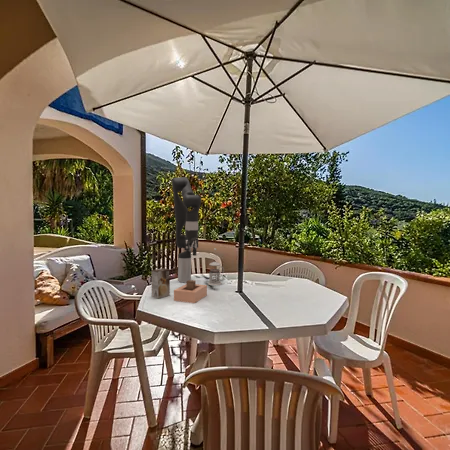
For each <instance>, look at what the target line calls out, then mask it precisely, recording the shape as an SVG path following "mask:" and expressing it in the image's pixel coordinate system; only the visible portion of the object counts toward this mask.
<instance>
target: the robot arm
mask: <svg viewBox="0 0 450 450" xmlns="http://www.w3.org/2000/svg"><path fill="white" fill-rule="evenodd" d="M171 180H172V181H171V187H172V194H173V204H174V219H175V220H174V221H175V244H176V247H177V248H178V249H183V252H180V253H177V254H178V256H177V257H178V258H177V265H178V266H177V281H179V282H178V283H182V282H187V281H188V280H192V256H194V257H196V256H197V249H199V210H200V207H201V204H202V198H201V196H200V195H198V194H195V192H194V191H193V189H192V187H191V183H190V181H189V178H188V177H186V176H183V177H182V176H181V177H180V176H179V177H174V178H172V179H171ZM179 192H181V196H182V198H183V199H182V198H181V197H180V195H179ZM188 208H193V209H192V210H189V209H188ZM184 227H185V232H184V233H185V234H182V231H183V228H184Z"/></svg>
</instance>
